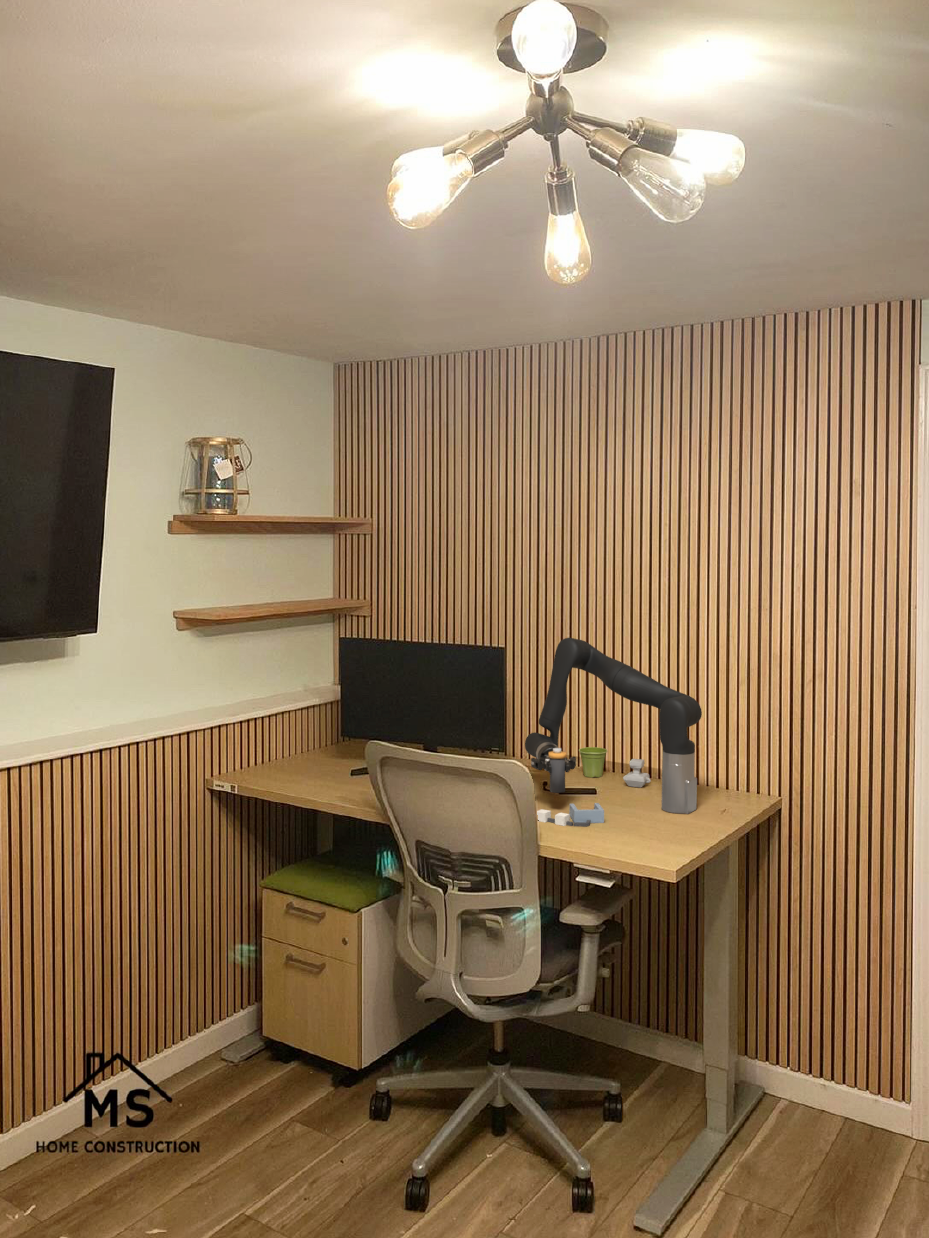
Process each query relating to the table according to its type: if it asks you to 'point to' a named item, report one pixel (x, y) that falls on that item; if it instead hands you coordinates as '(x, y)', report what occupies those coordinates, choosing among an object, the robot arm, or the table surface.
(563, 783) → the grey and orange bottle
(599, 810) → the end holder
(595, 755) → the plant pot
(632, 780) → the stamp
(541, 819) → the routed cable
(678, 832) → the table surface
